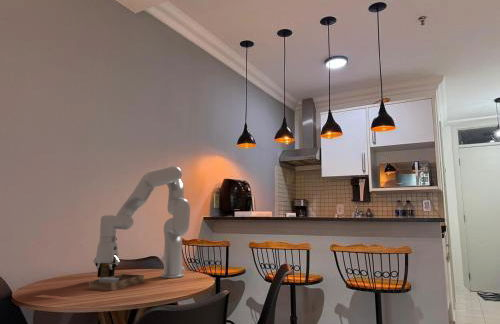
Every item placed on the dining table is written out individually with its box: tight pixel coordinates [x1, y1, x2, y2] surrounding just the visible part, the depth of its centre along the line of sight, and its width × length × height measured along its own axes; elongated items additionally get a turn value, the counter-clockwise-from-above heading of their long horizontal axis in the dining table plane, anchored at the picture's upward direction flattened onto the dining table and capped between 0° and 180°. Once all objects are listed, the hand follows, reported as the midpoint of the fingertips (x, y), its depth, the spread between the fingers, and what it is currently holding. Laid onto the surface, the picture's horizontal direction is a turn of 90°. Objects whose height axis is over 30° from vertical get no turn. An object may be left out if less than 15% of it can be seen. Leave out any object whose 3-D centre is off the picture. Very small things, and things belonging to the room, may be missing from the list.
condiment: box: [99, 263, 110, 278], centre depth 178 cm, size 7×8×12 cm
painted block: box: [98, 277, 119, 283], centre depth 163 cm, size 4×8×4 cm, turn 71°
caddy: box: [88, 273, 145, 291], centre depth 168 cm, size 22×13×4 cm, turn 161°
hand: (105, 276), depth 178 cm, fingers closed on condiment, 6 cm apart
